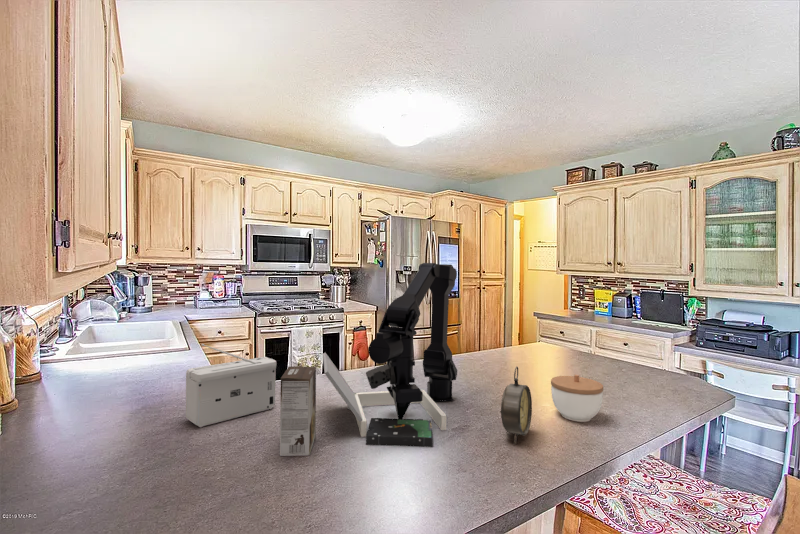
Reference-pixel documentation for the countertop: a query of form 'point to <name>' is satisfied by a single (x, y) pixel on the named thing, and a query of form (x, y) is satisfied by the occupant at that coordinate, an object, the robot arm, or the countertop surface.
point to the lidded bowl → (576, 397)
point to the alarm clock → (516, 408)
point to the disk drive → (400, 432)
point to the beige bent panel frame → (374, 398)
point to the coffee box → (298, 411)
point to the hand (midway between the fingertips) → (400, 418)
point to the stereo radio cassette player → (229, 389)
